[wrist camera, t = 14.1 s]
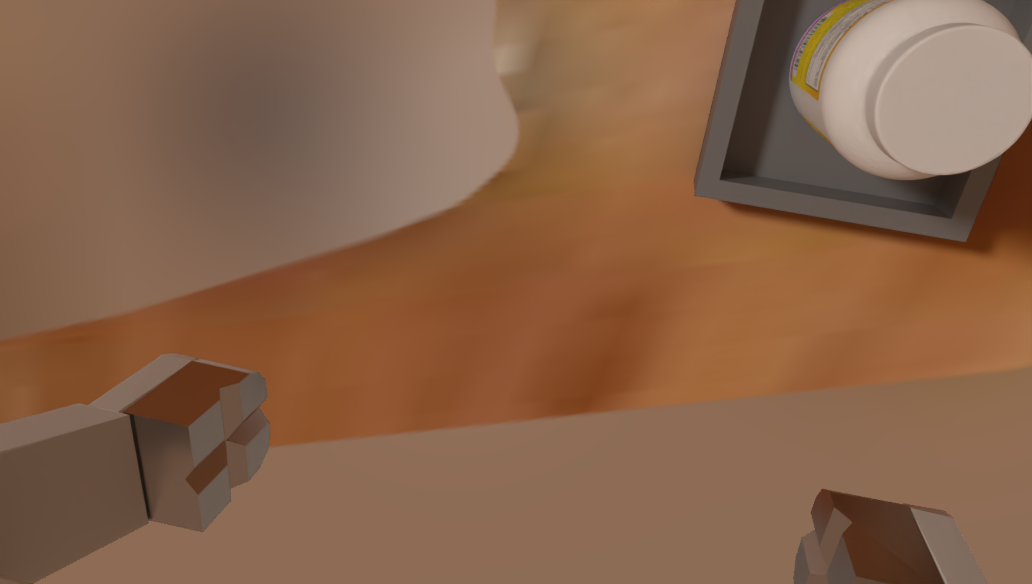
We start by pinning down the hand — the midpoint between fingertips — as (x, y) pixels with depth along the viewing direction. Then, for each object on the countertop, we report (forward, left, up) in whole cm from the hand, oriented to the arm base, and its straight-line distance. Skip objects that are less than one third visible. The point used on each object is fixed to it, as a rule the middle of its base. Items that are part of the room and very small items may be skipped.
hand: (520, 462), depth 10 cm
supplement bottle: (-4, +10, -30) cm, 32 cm away
